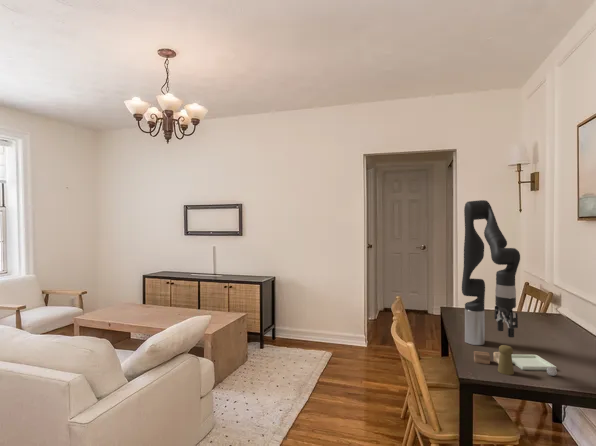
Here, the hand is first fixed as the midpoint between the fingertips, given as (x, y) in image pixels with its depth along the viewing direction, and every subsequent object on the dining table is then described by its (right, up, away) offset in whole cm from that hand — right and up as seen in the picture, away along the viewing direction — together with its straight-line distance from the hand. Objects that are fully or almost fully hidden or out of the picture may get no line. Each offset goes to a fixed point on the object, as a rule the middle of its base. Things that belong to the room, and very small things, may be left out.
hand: (505, 333), depth 156 cm
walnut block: (-4, -16, +11) cm, 20 cm away
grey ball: (+17, -14, -3) cm, 23 cm away
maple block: (+4, -16, +11) cm, 20 cm away
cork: (0, -16, 0) cm, 16 cm away
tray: (+15, -16, +9) cm, 24 cm away
